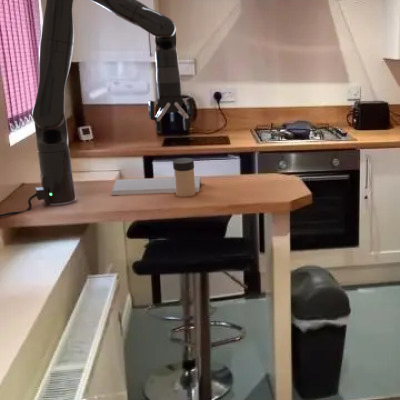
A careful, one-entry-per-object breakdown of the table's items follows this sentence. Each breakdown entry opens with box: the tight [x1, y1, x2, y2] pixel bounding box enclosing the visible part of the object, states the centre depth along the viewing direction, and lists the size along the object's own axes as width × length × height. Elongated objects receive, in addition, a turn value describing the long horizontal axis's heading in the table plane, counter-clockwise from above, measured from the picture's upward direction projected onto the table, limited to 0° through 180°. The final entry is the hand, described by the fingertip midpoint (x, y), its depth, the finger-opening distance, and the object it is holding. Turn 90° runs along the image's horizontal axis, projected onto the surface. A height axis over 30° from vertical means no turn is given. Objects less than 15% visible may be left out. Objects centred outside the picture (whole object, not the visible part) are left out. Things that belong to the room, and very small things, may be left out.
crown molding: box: [111, 176, 203, 197], centre depth 208 cm, size 29×12×4 cm, turn 97°
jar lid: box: [172, 157, 195, 171], centre depth 198 cm, size 7×7×2 cm
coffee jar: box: [173, 167, 197, 197], centre depth 200 cm, size 6×6×11 cm
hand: (172, 131), depth 196 cm, fingers open, 8 cm apart
